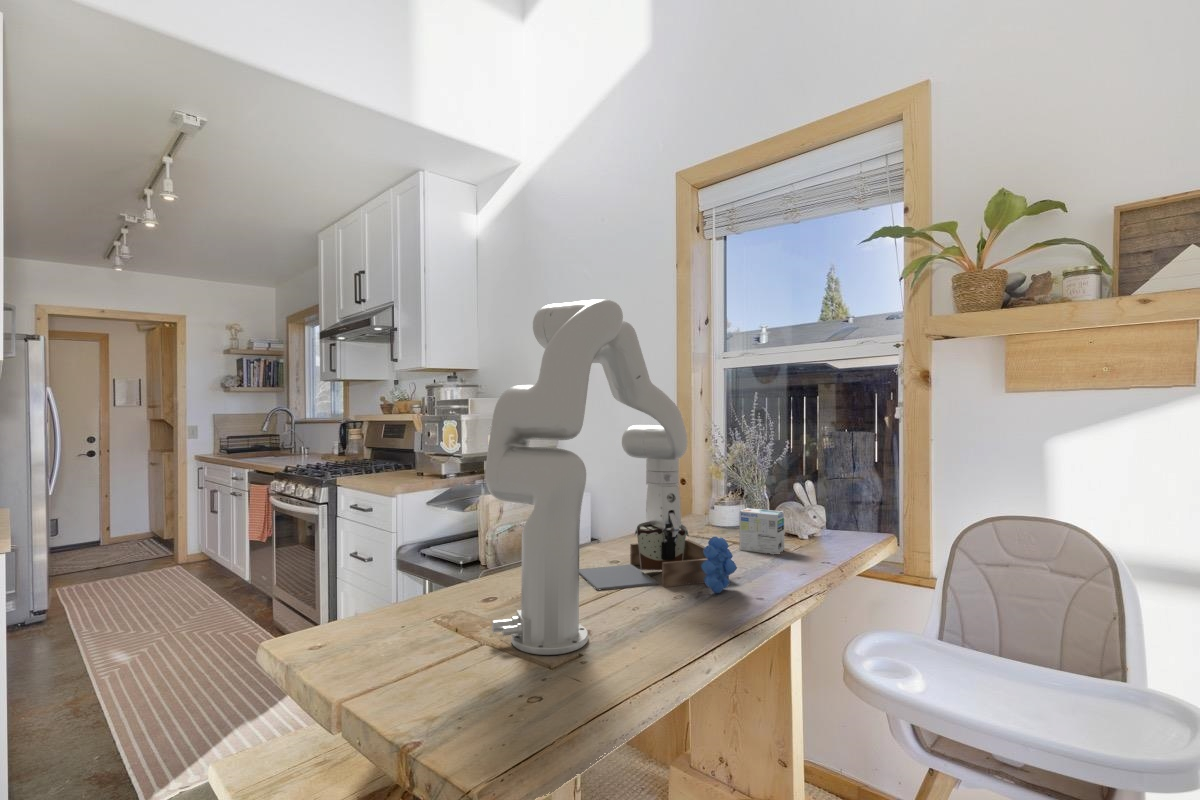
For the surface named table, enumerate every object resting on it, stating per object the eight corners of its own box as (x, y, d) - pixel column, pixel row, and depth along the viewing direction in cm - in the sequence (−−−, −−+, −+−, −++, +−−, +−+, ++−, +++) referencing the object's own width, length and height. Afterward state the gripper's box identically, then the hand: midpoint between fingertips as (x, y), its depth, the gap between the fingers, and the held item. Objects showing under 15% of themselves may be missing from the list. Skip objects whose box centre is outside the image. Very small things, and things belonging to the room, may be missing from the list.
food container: (685, 562, 141) (685, 520, 140) (688, 570, 135) (688, 527, 134) (633, 561, 141) (633, 520, 141) (634, 570, 135) (634, 527, 135)
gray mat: (597, 590, 124) (597, 588, 124) (576, 571, 138) (576, 569, 138) (657, 584, 129) (657, 582, 129) (631, 566, 143) (631, 564, 143)
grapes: (725, 604, 116) (725, 543, 116) (694, 598, 120) (694, 538, 120) (747, 590, 125) (748, 533, 125) (718, 584, 129) (718, 529, 129)
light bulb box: (785, 550, 160) (785, 510, 160) (778, 555, 155) (778, 514, 155) (746, 545, 166) (746, 506, 166) (738, 550, 160) (738, 510, 160)
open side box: (663, 586, 127) (664, 563, 127) (630, 564, 145) (630, 543, 145) (728, 580, 132) (728, 557, 132) (688, 559, 150) (688, 539, 150)
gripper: (694, 482, 130) (693, 563, 130) (661, 473, 147) (660, 546, 146) (663, 483, 128) (662, 566, 128) (633, 474, 144) (632, 548, 144)
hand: (661, 555), depth 137 cm, fingers closed on food container, 6 cm apart
